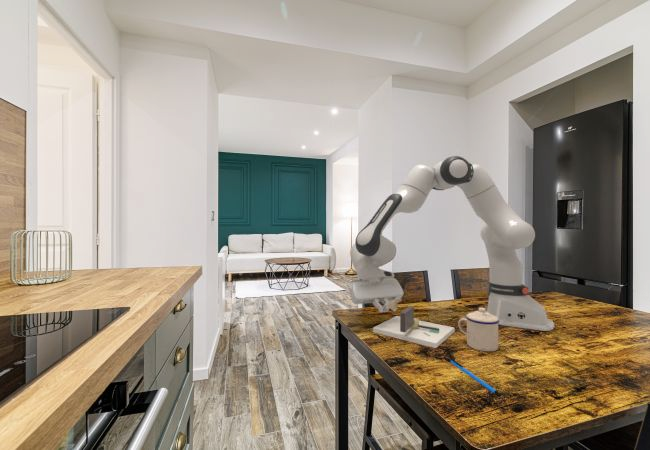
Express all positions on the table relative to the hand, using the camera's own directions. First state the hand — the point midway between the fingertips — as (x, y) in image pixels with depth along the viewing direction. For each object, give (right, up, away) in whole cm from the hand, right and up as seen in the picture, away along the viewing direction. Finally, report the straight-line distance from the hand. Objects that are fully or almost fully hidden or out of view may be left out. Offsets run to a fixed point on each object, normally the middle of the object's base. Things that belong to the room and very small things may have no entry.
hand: (384, 311), depth 108 cm
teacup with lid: (+27, -7, -12) cm, 30 cm away
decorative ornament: (+9, -7, +28) cm, 30 cm away
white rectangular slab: (+10, -7, -1) cm, 12 cm away
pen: (+16, -8, -32) cm, 36 cm away
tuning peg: (+10, -5, -7) cm, 13 cm away
